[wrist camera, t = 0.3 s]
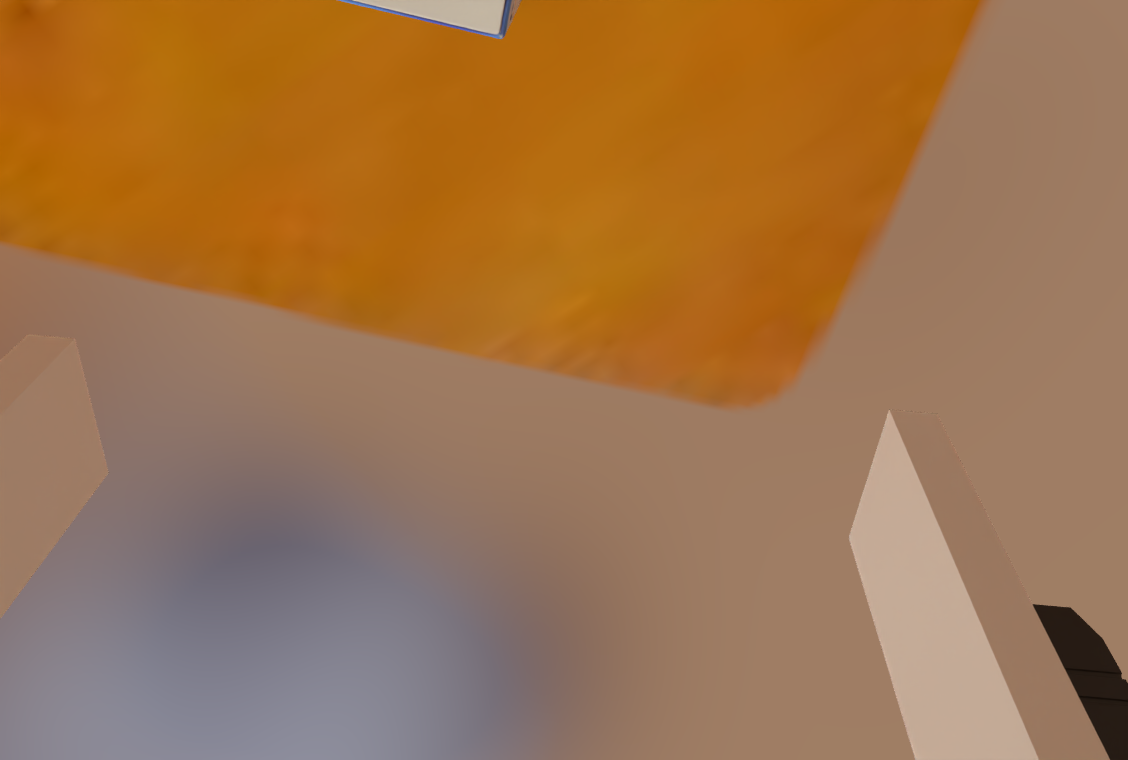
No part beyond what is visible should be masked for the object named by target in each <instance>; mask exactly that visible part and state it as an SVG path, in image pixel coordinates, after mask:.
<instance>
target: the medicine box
mask: <svg viewBox="0 0 1128 760" xmlns="http://www.w3.org/2000/svg"><path fill="white" fill-rule="evenodd" d="M340 1H344V2H348V3H352V4H356V5H360V6H364V7H368V8H373V9H377V10H381V11H385V12H389V13H394V14H398V15H402V16H406V17H410V18H415V19H419V20H423V21H427V22H432V23H436V24H440V25H444V26H448V27H453V28H457V29H461V30H465V31H469V32H473V33H478V34H482V35H486V36H490V37H494V38H498V39H502V38H503V37H504V36H505V34H506V32H507V30H508V28H509V26H510V24H511V22H512V20H513V17H514V15H515V13H516V11H517V8H518V7H519V4H520V2H521V0H340Z"/></svg>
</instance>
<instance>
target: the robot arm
mask: <svg viewBox="0 0 1128 760" xmlns="http://www.w3.org/2000/svg"><path fill="white" fill-rule="evenodd" d="M108 473H109V472H108V468H107V464H106V460H105V456H104V452H103V448H102V444H101V441H100V436H99V432H98V428H97V424H96V420H95V416H94V412H93V408H92V404H91V400H90V396H89V392H88V388H87V384H86V380H85V376H84V372H83V368H82V364H81V360H80V356H79V352H78V348H77V344H76V340H75V339H74V338H63V337H51V336H40V335H27V336H26V337H25V338H23V339H22V340H21V342H19V343H18V344H17V345H16V346H15V347H14V348H13V349H12V350H11V351H10V352H8V353H7V355H5V356H4V357H3V358H2V359H1V360H0V618H1V617H2V616H3V614H4V613H5V612H6V610H7V609H8V608H9V606H10V605H11V604H12V602H13V601H14V600H15V598H16V597H17V595H18V594H19V593H20V592H21V590H22V589H23V587H24V586H25V585H26V583H27V582H28V581H29V579H30V578H31V577H32V575H33V574H34V572H35V571H36V570H37V569H38V567H39V566H40V565H41V563H42V562H43V560H44V559H45V558H46V556H47V555H48V554H49V552H50V551H51V550H52V548H53V547H54V546H55V544H56V543H57V542H58V540H59V539H60V537H61V536H62V535H63V533H64V532H65V531H66V530H67V528H68V527H69V525H70V524H71V523H72V521H73V520H74V519H75V517H76V516H77V515H78V513H79V512H80V511H81V509H82V508H83V507H84V505H85V504H86V503H87V501H88V500H89V498H90V497H91V496H92V494H93V493H94V492H95V490H96V489H97V488H98V486H99V485H100V484H101V482H102V481H103V480H104V478H105V477H106V475H107V474H108ZM849 540H850V544H851V547H852V550H853V554H854V557H855V560H856V564H857V567H858V570H859V574H860V577H861V580H862V584H863V587H864V590H865V594H866V597H867V600H868V603H869V607H870V610H871V614H872V617H873V620H874V623H875V627H876V630H877V633H878V637H879V640H880V643H881V647H882V650H883V653H884V656H885V660H886V663H887V667H888V670H889V673H890V677H891V680H892V683H893V687H894V690H895V693H896V697H897V700H898V703H899V706H900V710H901V713H902V717H903V720H904V723H905V726H906V729H907V733H908V736H909V740H910V743H911V746H912V750H913V753H914V756H915V760H1128V683H1127V682H1126V680H1124V679H1122V678H1121V674H1122V673H1121V671H1120V669H1119V667H1118V665H1117V663H1116V662H1115V660H1114V658H1113V656H1112V654H1111V653H1110V651H1109V649H1108V647H1107V646H1106V644H1105V642H1104V640H1103V639H1102V638H1101V637H1100V636H1099V635H1098V634H1097V633H1096V632H1095V631H1094V630H1093V629H1092V628H1091V627H1090V626H1089V625H1088V624H1087V623H1086V622H1085V621H1084V620H1083V619H1082V618H1081V617H1080V616H1079V615H1077V613H1076V612H1074V610H1072V609H1071V608H1069V607H1057V606H1046V605H1035V604H1032V603H1031V601H1030V599H1029V597H1028V595H1027V593H1026V591H1025V589H1024V587H1023V585H1022V583H1021V581H1020V579H1019V577H1018V575H1017V573H1016V571H1015V569H1014V567H1013V565H1012V563H1011V561H1010V559H1009V557H1008V555H1007V553H1006V551H1005V549H1004V547H1003V545H1002V543H1001V541H1000V539H999V537H998V535H997V533H996V531H995V529H994V527H993V525H992V523H991V521H990V519H989V517H988V515H987V513H986V511H985V509H984V507H983V505H982V503H981V501H980V499H979V497H978V495H977V493H976V491H975V489H974V487H973V485H972V483H971V481H970V479H969V477H968V475H967V473H966V471H965V469H964V467H963V465H962V463H961V461H960V459H959V457H958V455H957V453H956V451H955V449H954V447H953V445H952V443H951V441H950V439H949V437H948V435H947V433H946V431H945V429H944V427H943V425H942V423H941V421H940V419H939V417H938V415H937V414H935V413H923V412H912V411H901V410H889V412H888V415H887V418H886V422H885V425H884V428H883V431H882V434H881V437H880V441H879V444H878V447H877V450H876V453H875V456H874V460H873V463H872V466H871V469H870V472H869V476H868V478H867V482H866V485H865V488H864V491H863V495H862V498H861V500H860V504H859V507H858V510H857V513H856V516H855V519H854V523H853V526H852V529H851V532H850V536H849Z"/></svg>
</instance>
